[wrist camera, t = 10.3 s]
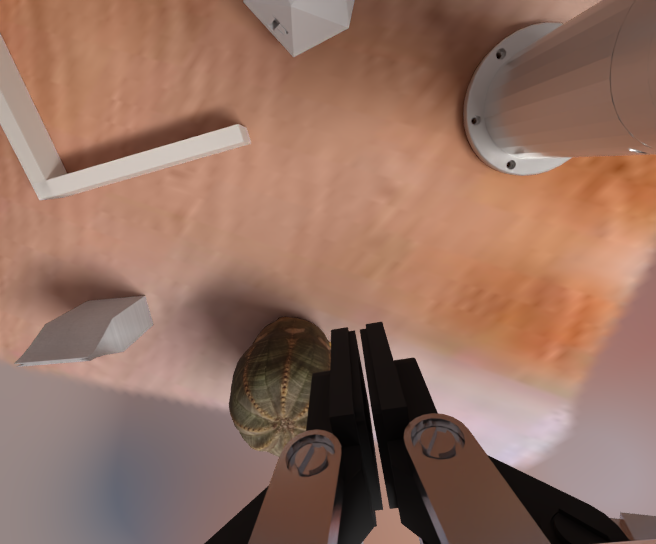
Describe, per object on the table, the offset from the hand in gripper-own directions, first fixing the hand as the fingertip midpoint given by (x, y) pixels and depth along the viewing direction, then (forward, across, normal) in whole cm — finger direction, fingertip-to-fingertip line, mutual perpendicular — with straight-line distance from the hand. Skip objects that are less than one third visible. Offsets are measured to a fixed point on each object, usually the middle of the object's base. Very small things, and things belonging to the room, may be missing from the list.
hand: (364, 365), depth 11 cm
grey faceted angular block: (+25, +27, +5) cm, 37 cm away
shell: (+26, +8, +14) cm, 30 cm away
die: (+26, 0, -20) cm, 32 cm away
